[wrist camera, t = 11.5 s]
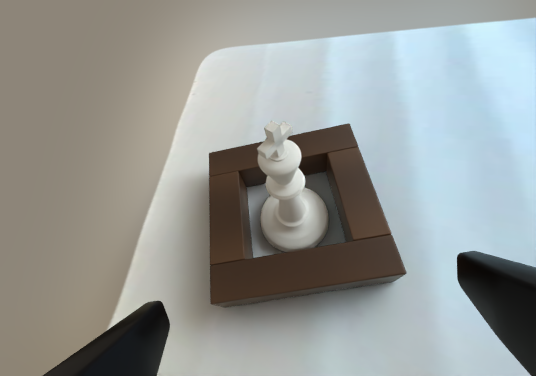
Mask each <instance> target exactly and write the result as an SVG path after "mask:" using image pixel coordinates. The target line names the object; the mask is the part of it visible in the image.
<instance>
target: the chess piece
mask: <svg viewBox="0 0 536 376" xmlns="http://www.w3.org/2000/svg"><path fill="white" fill-rule="evenodd" d="M264 129H265V133H266V136H267V139H266V140H265V141H264V142H263V143H262V144H261V145H260V146H259V147H258V148H257V150H258V153H259V154H258V164H259V167H260V168H261V170H262V171H263V172H264V173H265V174H266V175H268V176H267V179H266V189H267V191H268V193H269V194H270V195H271V196H270V197H269V198H268V199H267V200H266V202H265V203H264V205H263V207H262V210H261V215H260V222H261V228H262V232H263V234H264V236H265V238H266V239H267V241H268V242H269V243H270V244H271V245H272V246H274V247H275V248H277V249H279V250H281V251H284V252H292V251H298V250H304V249H309V248H314V247H315V246H316V245H318V244H319V243H320V242H321V241H322V239H323V238H324V236H325V235H326V233H327V230H328V226H329V214H328V211H327V208H326V205H325V203H324V201H323V200H322V199H321V197H320V196H319V195H318V194H316V193H315V192H314V191H312V190H310V189H308V188H305V177H304V175H303V173H302V172H301V170H300V169H299V168H298V167H299V165H300V162H301V151H300V149H299V147H298V146H297V145H296V144H295V143H294V142H292V141H290V140H287V138H288V137H289V136H290V135H291V134H292V133H293V132H292V126H291V125H289V124H288V123H286V122H284V121H283V122H282V123H281V124H280V125H278V124H277V123H275V122H273V121H271V122H270V123H269V124H268V125H267V126H266V127H265V128H264Z"/></svg>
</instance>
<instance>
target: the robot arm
mask: <svg viewBox="0 0 536 376" xmlns="http://www.w3.org/2000/svg"><path fill="white" fill-rule="evenodd" d="M457 277H458V282H459V284H460V286H461V288H462V289H463V291H464V292H465V293H466V295H467V296H468V297H469V299H470V300H471V302H472V303H473V304H474V306H475V307H476V308H477V310H478V311H479V312H480V314H481V315H482V317H483V318H484V319H485V321H486V322H487V323H488V325H489V326H490V327H491V329H492V330H493V331H494V333H495V334H496V335H497V337H498V338H499V339H500V340H501V341H502V343H503V344H504V345H505V346H506V347H507V348H508V350H509V351H510V352H511V353H512V354H513V355H514V356H515V358H516V359H517V360H518V361H519V362H520V363H521V364H522V366H523V367H524V368H525V369H526V370H527V371H528V372H529V374H530V375H531V376H536V267H532V266H528V265H525V264H521V263H517V262H514V261H510V260H506V259H503V258H499V257H495V256H492V255H488V254H484V253H481V252H477V251H470V252H463V253H460V254H458V256H457ZM169 329H170V322H169V319H168V316H167V314H166V311H165V308H164V305H163V303H162V302H161V301H153V302H148V303H146V304H144V305H143V306H141V307H140V308H139V309H137V310H136V311H134V312H133V313H131V314H130V315H129V316H127V317H126V318H124V319H123V320H121V321H120V322H119V323H117V324H116V325H114V326H113V327H111V328H110V329H109V330H107V331H106V332H104V333H103V334H102V335H100V336H99V337H97V338H96V339H95V340H93V341H91V342H90V343H89V344H87V345H86V346H84V347H83V348H81V349H80V350H79V351H77V352H76V353H74V354H73V355H71V356H70V357H69V358H67V359H66V360H65V361H63V362H61V363H60V364H59V365H57V366H56V367H54V368H53V369H51V370H50V371H49V372H47V373H46V374H44V375H43V376H157V373H158V369H159V365H160V362H161V358H162V355H163V351H164V347H165V344H166V340H167V337H168V333H169Z"/></svg>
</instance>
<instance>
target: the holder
mask: <svg viewBox="0 0 536 376" xmlns="http://www.w3.org/2000/svg"><path fill="white" fill-rule="evenodd" d="M287 140H290V141H292V142H294V143H295V144H296V145H297V146H298V147H299V149H300V151H301V162H300V165H299V167H298V168H299V169H300V170H301V172H302V173H303V175H304V176H305V175H310V174H315V173H320V172H325V171H326V173H327V177H328V180H329V184H330V187H331V191H332V194H333V198H334V201H335V205H336V208H337V212H338V215H339V219H340V222H341V226H342V229H343V233H344V236H345V240H346V242H345V243H339V244H333V245H327V246H321V247H315V248H309V249H304V250H298V251H292V252H286V253H280V254H274V255H269V256H263V257H257V258H253V252H252V241H251V230H250V220H249V209H248V198H247V188H246V187H249V186H254V185H259V184H264V183H266V179H267V176H268V175H266V174H265V173H264V172H263V171H262V170H261V168H260V167H259V164H258V154H259V153H258V150H257V148H258V147H259V146H260V145H261V144H262V143H263V142H259V143H254V144H250V145H245V146H240V147H236V148H231V149H226V150H221V151H217V152H212V153H209V194H210V265H211V266H210V295H211V304H212V305H216V306H220V307H225V308H226V307H232V306H239V305H245V304H252V303H258V302H265V301H271V300H278V299H284V298H290V297H297V296H303V295H310V294H316V293H323V292H329V291H336V290H342V289H349V288H355V287H362V286H368V285H375V284H381V283H388V282H394V281H396V280H397V279H399V278H400V277H402V276H403V275H405V274H406V270H405V267H404V265H403V262H402V260H401V257H400V254H399V252H398V249H397V247H396V244H395V241H394V239H393V236H392V235H391V231H390V228H389V226H388V223H387V221H386V218H385V215H384V213H383V210H382V208H381V205H380V202H379V200H378V197H377V194H376V192H375V189H374V187H373V184H372V181H371V179H370V176H369V174H368V171H367V168H366V166H365V163H364V161H363V158H362V155H361V153H360V150H359V148H358V145H357V142H356V139H355V137H354V134H353V131H352V129H351V126H350V124H344V125H339V126H335V127H330V128H325V129H320V130H316V131H311V132H306V133H302V134H297V135H292V136H289V137H288V138H287Z"/></svg>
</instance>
